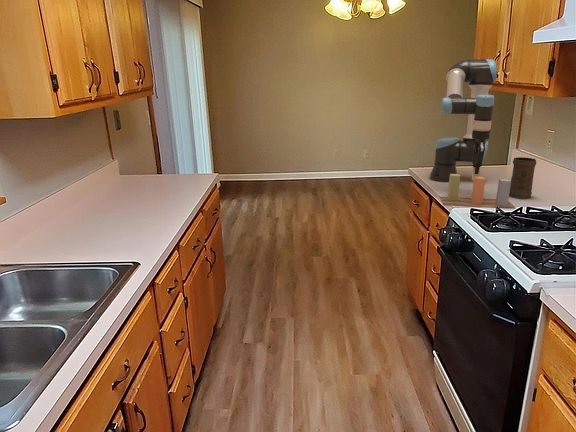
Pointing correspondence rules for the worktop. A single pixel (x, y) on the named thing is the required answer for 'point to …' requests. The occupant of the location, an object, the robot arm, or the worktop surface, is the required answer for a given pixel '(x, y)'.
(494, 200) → the walnut board
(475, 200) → the terracotta pillar
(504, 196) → the slate pillar
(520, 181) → the beer stein
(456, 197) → the olive pillar
